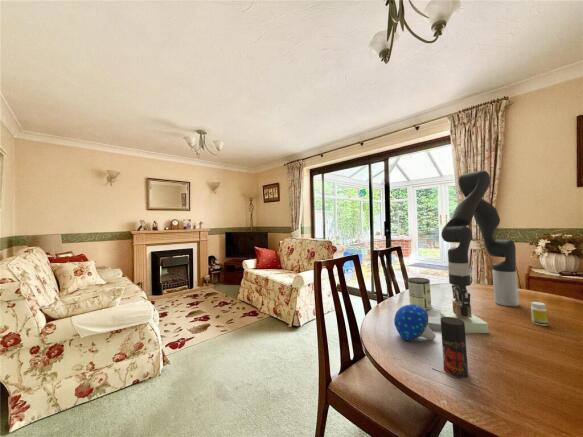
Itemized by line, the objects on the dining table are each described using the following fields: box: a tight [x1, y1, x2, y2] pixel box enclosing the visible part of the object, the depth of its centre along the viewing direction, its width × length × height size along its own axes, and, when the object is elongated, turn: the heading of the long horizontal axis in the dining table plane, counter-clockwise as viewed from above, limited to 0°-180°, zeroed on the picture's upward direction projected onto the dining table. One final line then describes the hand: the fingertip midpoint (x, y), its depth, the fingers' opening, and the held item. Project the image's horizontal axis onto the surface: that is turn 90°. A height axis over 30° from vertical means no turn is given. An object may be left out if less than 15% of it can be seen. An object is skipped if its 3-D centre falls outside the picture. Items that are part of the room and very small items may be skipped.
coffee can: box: [407, 276, 433, 311], centre depth 122 cm, size 10×10×14 cm
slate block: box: [427, 316, 441, 332], centre depth 98 cm, size 7×7×3 cm
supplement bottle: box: [530, 301, 549, 327], centre depth 97 cm, size 5×5×8 cm
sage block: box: [439, 311, 489, 334], centre depth 98 cm, size 12×12×4 cm
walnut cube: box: [452, 300, 472, 318], centre depth 98 cm, size 5×5×5 cm
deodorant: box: [440, 317, 469, 379], centre depth 69 cm, size 6×6×15 cm
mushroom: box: [393, 304, 437, 342], centre depth 89 cm, size 14×14×15 cm
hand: (462, 313), depth 98 cm, fingers closed on walnut cube, 5 cm apart
